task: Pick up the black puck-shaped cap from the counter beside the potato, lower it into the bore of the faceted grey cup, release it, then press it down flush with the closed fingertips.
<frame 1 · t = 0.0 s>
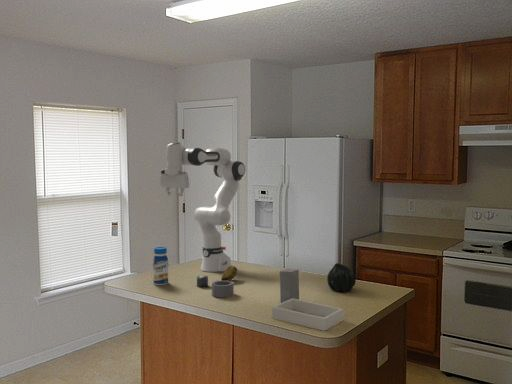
hand: (174, 195, 278), 48 cm above the worktop, fingers open, 8 cm apart
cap: (202, 286, 267), on the worktop
faceted grey cup: (222, 294, 250), on the worktop
skincare box: (289, 302, 237), on the worktop
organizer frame: (307, 319, 212), on the worktop
potato: (228, 281, 276), on the worktop
squash: (341, 290, 258), on the worktop
beverage bottle: (161, 283, 272), on the worktop
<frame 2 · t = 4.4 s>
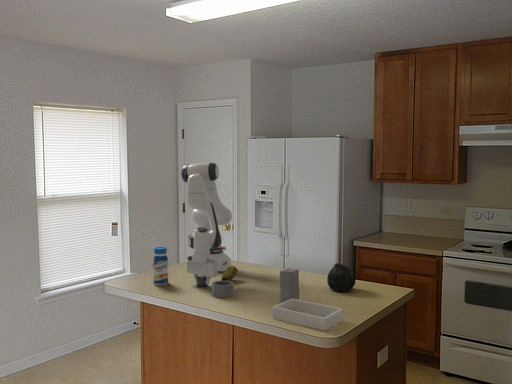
hand: (202, 283, 267), 2 cm above the worktop, fingers closed on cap, 6 cm apart
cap: (202, 286, 267), on the worktop, touching gripper
everything else where it was.
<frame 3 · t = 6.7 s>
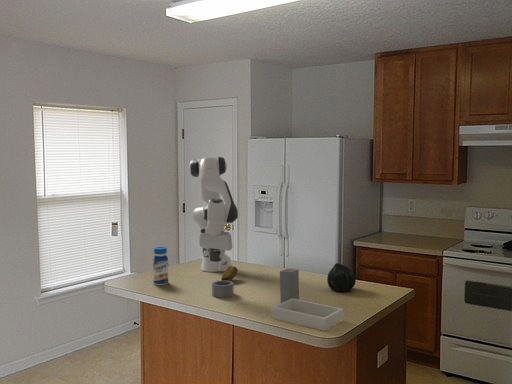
hand: (215, 257, 252), 19 cm above the worktop, fingers closed on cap, 6 cm apart
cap: (215, 260, 252), point 17 cm above the worktop, touching gripper
everything else where it was.
when the fingers open (6 cm above the worktop, at t = 9.0 s): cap drops 4 cm, resting on faceted grey cup.
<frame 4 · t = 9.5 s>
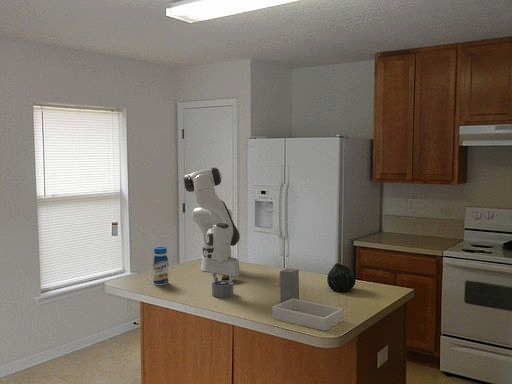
hand: (222, 282, 249), 6 cm above the worktop, fingers open, 8 cm apart
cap: (222, 293, 250), point 1 cm above the worktop, touching faceted grey cup
everything else where it was.
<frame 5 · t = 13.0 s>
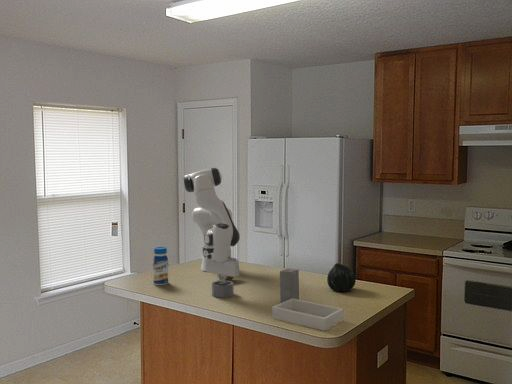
hand: (222, 283, 249), 6 cm above the worktop, fingers closed, pressing on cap
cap: (222, 293, 250), point 1 cm above the worktop, touching faceted grey cup, gripper
everything else where it was.
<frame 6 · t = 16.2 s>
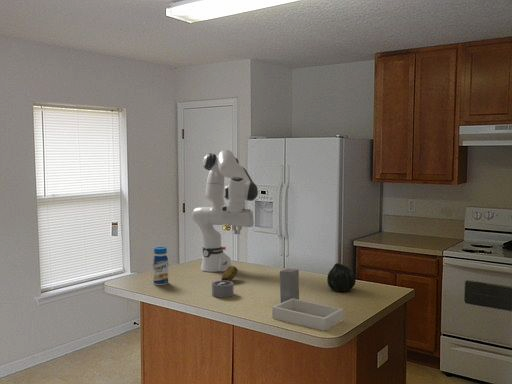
hand: (237, 234, 260), 29 cm above the worktop, fingers closed
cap: (222, 293, 250), point 1 cm above the worktop, touching faceted grey cup
everything else where it was.
at the end: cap 0.1 cm off-centre on the faceted grey cup, point 0.8 cm above the faceted grey cup's base; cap tilted 0°; the gripper is holding nothing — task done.
